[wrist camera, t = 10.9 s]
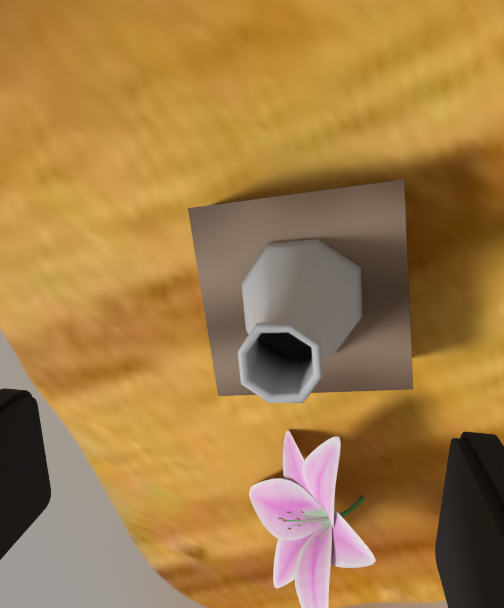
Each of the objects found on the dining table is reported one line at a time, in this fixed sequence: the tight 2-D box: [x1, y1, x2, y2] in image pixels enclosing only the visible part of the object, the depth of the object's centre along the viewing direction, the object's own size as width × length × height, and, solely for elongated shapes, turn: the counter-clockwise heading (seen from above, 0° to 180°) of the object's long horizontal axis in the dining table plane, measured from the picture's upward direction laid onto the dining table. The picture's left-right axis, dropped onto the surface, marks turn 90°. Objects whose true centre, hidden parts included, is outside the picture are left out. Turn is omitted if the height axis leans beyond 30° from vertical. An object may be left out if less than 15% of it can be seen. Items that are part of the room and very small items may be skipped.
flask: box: [238, 239, 362, 403], centre depth 20 cm, size 7×7×10 cm
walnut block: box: [188, 179, 413, 396], centre depth 27 cm, size 12×12×5 cm
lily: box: [249, 430, 376, 608], centre depth 30 cm, size 12×12×10 cm
